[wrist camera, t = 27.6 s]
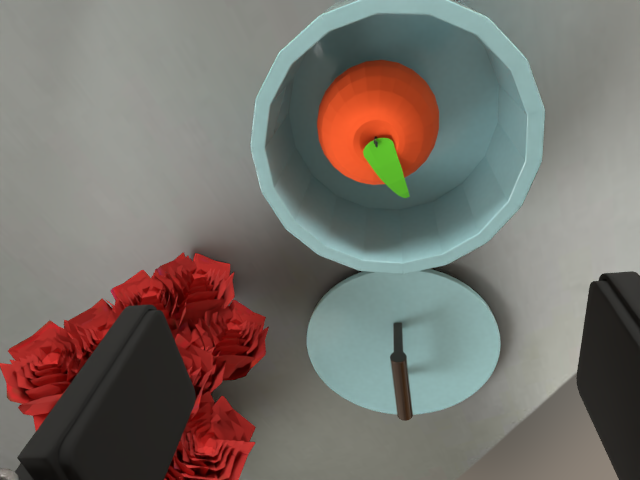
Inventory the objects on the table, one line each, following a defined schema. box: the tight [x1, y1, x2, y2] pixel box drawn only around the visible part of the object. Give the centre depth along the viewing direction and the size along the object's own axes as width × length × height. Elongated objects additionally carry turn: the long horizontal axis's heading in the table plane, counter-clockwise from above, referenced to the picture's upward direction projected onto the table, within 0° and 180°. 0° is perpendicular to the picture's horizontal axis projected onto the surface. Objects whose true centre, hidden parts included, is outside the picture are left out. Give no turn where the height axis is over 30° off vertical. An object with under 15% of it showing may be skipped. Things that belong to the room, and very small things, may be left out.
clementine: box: [317, 60, 439, 198], centre depth 27 cm, size 8×7×7 cm
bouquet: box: [0, 253, 269, 480], centre depth 40 cm, size 20×16×30 cm
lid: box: [306, 269, 501, 420], centre depth 38 cm, size 16×16×6 cm
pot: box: [250, 0, 545, 274], centre depth 28 cm, size 15×15×8 cm
